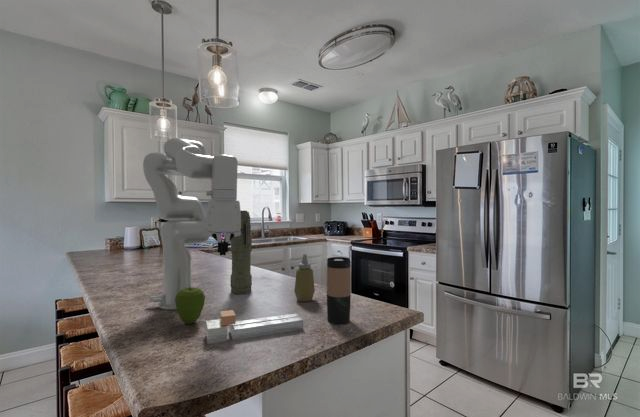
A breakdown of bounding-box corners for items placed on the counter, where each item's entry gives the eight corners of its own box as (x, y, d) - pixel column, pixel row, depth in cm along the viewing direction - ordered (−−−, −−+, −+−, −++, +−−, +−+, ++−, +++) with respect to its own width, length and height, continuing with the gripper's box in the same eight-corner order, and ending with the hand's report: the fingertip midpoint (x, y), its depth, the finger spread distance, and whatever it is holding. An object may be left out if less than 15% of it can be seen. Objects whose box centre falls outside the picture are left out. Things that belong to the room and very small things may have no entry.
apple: (175, 330, 94) (175, 291, 94) (174, 321, 102) (174, 285, 102) (206, 325, 98) (206, 288, 98) (202, 316, 106) (203, 282, 106)
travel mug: (352, 318, 105) (353, 257, 105) (347, 326, 98) (347, 261, 98) (330, 315, 107) (330, 256, 107) (323, 323, 100) (323, 259, 100)
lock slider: (222, 325, 87) (222, 316, 87) (220, 319, 91) (220, 311, 91) (235, 323, 88) (235, 315, 88) (233, 318, 93) (233, 310, 93)
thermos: (241, 296, 130) (242, 210, 130) (224, 291, 138) (224, 210, 138) (258, 291, 137) (258, 210, 137) (240, 287, 145) (240, 210, 145)
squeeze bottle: (312, 303, 121) (312, 256, 121) (291, 302, 122) (291, 255, 122) (316, 297, 129) (316, 253, 129) (297, 296, 130) (297, 252, 130)
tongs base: (207, 344, 85) (207, 329, 85) (206, 334, 91) (206, 320, 91) (303, 329, 95) (303, 316, 95) (295, 321, 101) (295, 309, 101)
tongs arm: (230, 335, 91) (230, 325, 91) (229, 331, 93) (229, 322, 93) (299, 325, 98) (299, 316, 98) (296, 322, 101) (296, 313, 101)
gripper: (198, 194, 92) (196, 257, 93) (250, 196, 98) (248, 256, 98) (198, 194, 99) (196, 253, 100) (246, 196, 105) (245, 252, 105)
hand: (222, 254), depth 99 cm, fingers closed
